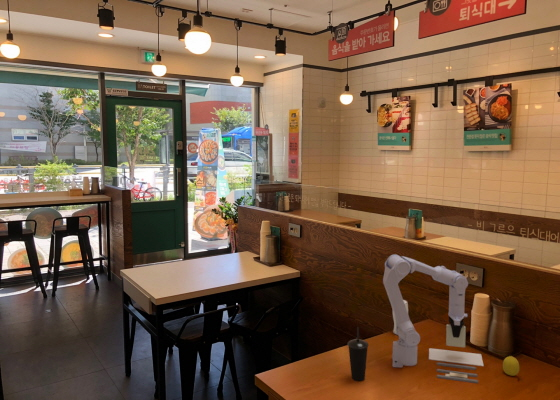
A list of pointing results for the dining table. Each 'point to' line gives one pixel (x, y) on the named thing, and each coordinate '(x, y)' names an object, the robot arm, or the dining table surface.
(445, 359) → the board
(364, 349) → the drinking cup
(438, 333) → the dining table surface
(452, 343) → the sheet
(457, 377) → the rack
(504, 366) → the lemon
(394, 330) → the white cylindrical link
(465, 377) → the offcut top
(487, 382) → the dining table surface
